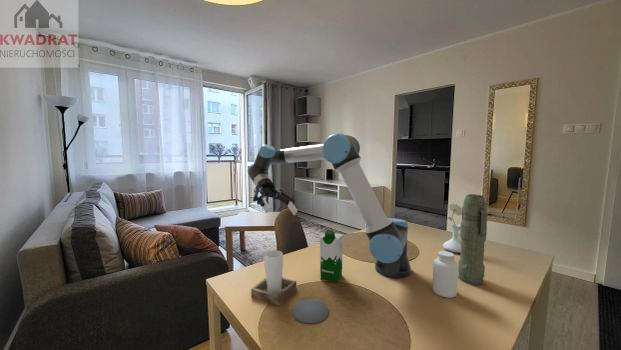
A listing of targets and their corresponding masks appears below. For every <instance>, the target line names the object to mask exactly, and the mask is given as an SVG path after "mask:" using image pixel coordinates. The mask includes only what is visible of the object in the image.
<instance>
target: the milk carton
mask: <svg viewBox="0 0 621 350" xmlns="http://www.w3.org/2000/svg"><path fill="white" fill-rule="evenodd" d="M343 236H344V234H341V233H335V231H334V230H333V231H332V230H326V231H325V232H324V233H323V234H322V235H321V236H319V259H320V260H319V265H320V266H319V269H320V270H319V271H320V272H319V273H320V276H319V277H320V280H321V281H326V282H331V283H333V284H334V283H335V284H337V283H338V281H339V280H340V279H341V277H342V276H343V239H344V237H343Z"/></svg>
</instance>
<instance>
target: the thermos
mask: <svg viewBox="0 0 621 350" xmlns="http://www.w3.org/2000/svg"><path fill="white" fill-rule="evenodd" d="M462 203H463V204H462V205H463V206H462V207H461V208H462V215H461V222H460V225H461V227H460V228H459V236H460V240H461V253H460V256H459V257H460V258H459V260H458V263H457V265H458V274H457V279H459V280H460V281H462V282H463V283H465V284H468V285H472V286H482V285H483V284H484V278H485V268H486V267H485V263H484V260H485V259H484V258H485V257H484V255H485V242H486V240H487V235H488V234H487V231H488V227H487V225H488V224H487V223H488V214H489V213H488V211H487V201H486V199H485V196H483V195H481V194H473V193H472V194H471V193H469V194H467V195H466V196H465V198H464V200H463V202H462Z"/></svg>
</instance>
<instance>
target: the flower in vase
mask: <svg viewBox="0 0 621 350" xmlns="http://www.w3.org/2000/svg"><path fill="white" fill-rule="evenodd" d="M448 208H449V210H450V212H451V213H452V215H451V216H447V218H446V219H447V220H449V221H451V222H453V223H450V226H451V227H452V237H451V239H449V240H446V241H445V242H444V243H443V244H442V247H443V249H444V250H447V251H448V252H451V253H458V254H459V253H460V254H461V241H460V239H459V232H460V227H461V224H459V223H458V222H460V220H461V219H458V220H456V221H454V215H456V216H462V207H461V206H460V205H458V203H455V202H451V203H449V204H448Z"/></svg>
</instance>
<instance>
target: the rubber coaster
mask: <svg viewBox="0 0 621 350" xmlns="http://www.w3.org/2000/svg"><path fill="white" fill-rule="evenodd" d="M328 307H329V306H328V305H327V304H326V303H324V302H323V301H321V300H319V299H311V298H309V299H308V298H306V299H302V300H300V301H298V302H296V303H295V304H294V305H293V306H292V308H291V313H292V314H291V315H292V317H293V318H294V319H295V321H297V322H299V323H302V324H306V325H307V324H308V325H311V324H319V323H320V322H322V321H325V320H326V318H327V317H328V315H329V308H328Z"/></svg>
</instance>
